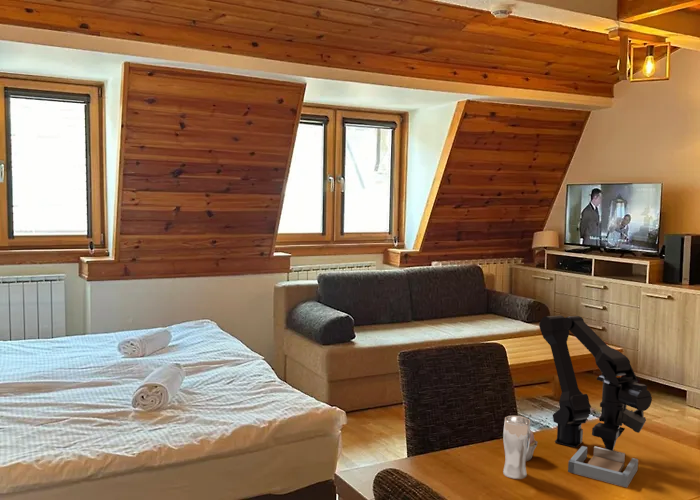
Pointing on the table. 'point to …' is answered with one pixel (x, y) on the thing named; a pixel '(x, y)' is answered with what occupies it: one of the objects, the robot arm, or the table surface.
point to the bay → (601, 470)
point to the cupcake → (531, 446)
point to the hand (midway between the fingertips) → (610, 453)
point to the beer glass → (516, 446)
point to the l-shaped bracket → (607, 459)
